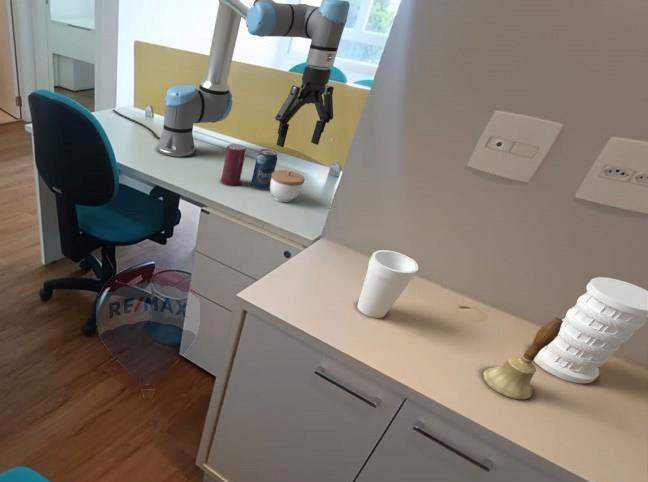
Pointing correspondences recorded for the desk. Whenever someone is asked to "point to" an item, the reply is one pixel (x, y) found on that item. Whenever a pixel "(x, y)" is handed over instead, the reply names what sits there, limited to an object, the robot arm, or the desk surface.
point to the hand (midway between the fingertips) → (297, 144)
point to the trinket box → (285, 185)
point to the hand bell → (521, 366)
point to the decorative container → (595, 329)
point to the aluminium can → (233, 164)
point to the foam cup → (385, 281)
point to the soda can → (264, 169)
